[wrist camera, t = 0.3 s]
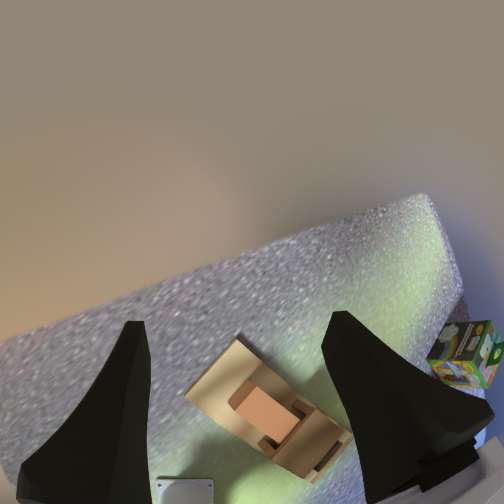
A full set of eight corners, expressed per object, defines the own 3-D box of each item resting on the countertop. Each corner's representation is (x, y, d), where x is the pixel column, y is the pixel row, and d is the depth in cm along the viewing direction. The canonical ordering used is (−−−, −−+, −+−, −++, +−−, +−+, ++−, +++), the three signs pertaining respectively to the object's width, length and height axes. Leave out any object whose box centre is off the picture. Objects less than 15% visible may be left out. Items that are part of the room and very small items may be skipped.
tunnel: (324, 419, 40) (344, 431, 34) (287, 462, 37) (303, 479, 32) (297, 398, 39) (315, 408, 34) (257, 443, 36) (271, 460, 31)
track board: (350, 434, 42) (354, 436, 40) (310, 481, 38) (314, 484, 37) (234, 338, 40) (236, 339, 39) (183, 394, 36) (184, 396, 35)
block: (313, 430, 39) (327, 439, 35) (295, 451, 37) (307, 461, 33) (247, 379, 38) (256, 386, 34) (226, 402, 36) (234, 411, 33)
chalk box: (443, 385, 49) (502, 393, 35) (424, 359, 48) (489, 364, 34) (462, 348, 52) (520, 349, 38) (445, 321, 51) (507, 317, 37)
